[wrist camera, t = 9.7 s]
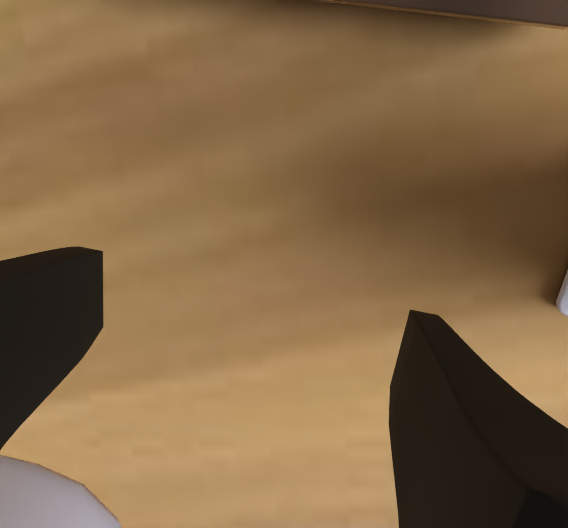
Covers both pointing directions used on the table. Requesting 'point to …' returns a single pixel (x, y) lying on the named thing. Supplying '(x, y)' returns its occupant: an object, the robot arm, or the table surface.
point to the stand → (481, 10)
